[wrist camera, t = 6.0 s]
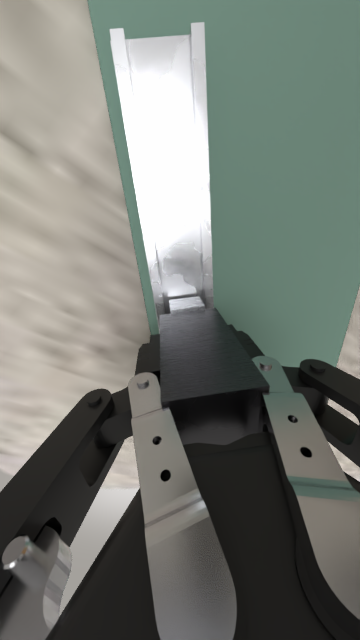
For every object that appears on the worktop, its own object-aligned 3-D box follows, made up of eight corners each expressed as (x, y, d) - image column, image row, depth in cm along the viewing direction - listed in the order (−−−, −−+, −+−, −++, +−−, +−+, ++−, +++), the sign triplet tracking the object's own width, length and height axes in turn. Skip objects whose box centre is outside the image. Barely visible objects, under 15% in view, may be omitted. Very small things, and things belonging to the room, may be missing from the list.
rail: (199, 50, 10) (206, 22, 9) (215, 420, 22) (218, 433, 21) (114, 56, 10) (107, 29, 9) (175, 426, 22) (177, 440, 21)
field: (458, -89, 10) (471, -101, 9) (309, 448, 27) (311, 451, 27) (75, -68, 9) (72, -81, 8) (177, 470, 26) (177, 474, 26)
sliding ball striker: (305, 278, 16) (499, 346, 7) (286, 391, 21) (383, 516, 12) (159, 296, 15) (159, 397, 6) (176, 408, 21) (190, 551, 12)
